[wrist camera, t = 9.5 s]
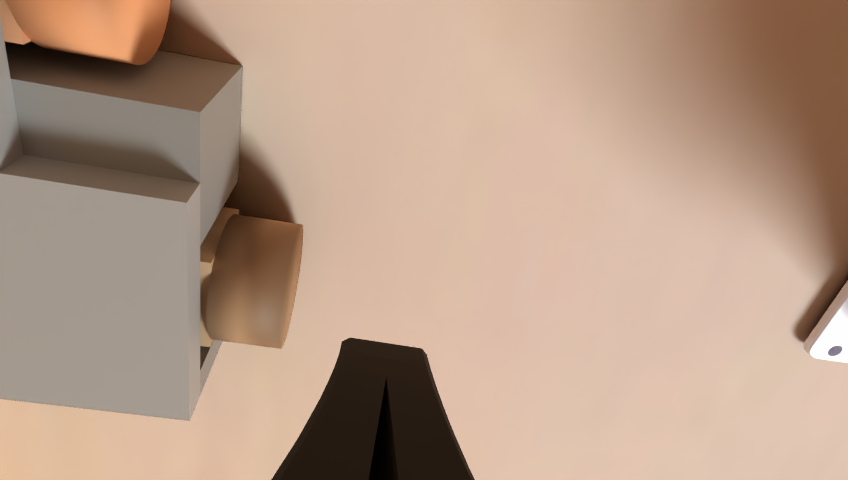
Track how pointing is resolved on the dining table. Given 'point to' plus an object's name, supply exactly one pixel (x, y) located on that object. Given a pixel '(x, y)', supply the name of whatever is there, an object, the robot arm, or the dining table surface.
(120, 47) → the orange knob
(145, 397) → the box
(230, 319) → the walnut knob
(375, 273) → the dining table surface
